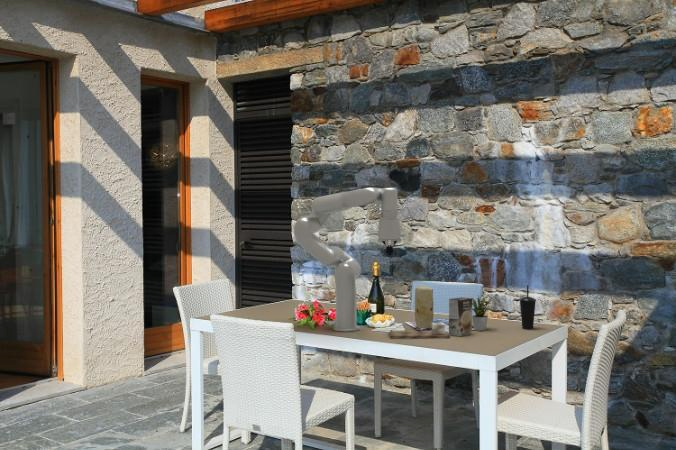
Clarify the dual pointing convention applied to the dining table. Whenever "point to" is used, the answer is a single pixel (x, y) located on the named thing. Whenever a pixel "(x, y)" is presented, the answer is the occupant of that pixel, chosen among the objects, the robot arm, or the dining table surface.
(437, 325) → the bead
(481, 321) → the house plant
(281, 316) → the dining table surface
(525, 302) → the drinking cup
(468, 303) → the coffee box
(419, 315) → the food model
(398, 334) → the board
